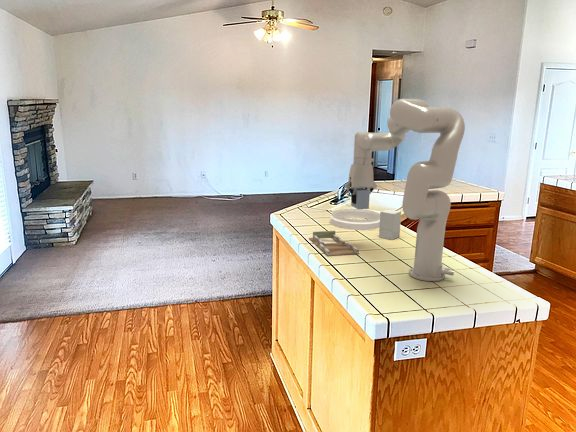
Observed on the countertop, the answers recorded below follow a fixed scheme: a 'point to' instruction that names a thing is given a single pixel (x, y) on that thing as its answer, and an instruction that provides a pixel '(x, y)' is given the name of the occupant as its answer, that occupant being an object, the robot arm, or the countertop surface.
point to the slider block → (362, 199)
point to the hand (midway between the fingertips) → (360, 202)
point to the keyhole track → (332, 244)
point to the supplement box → (390, 224)
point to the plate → (340, 219)
